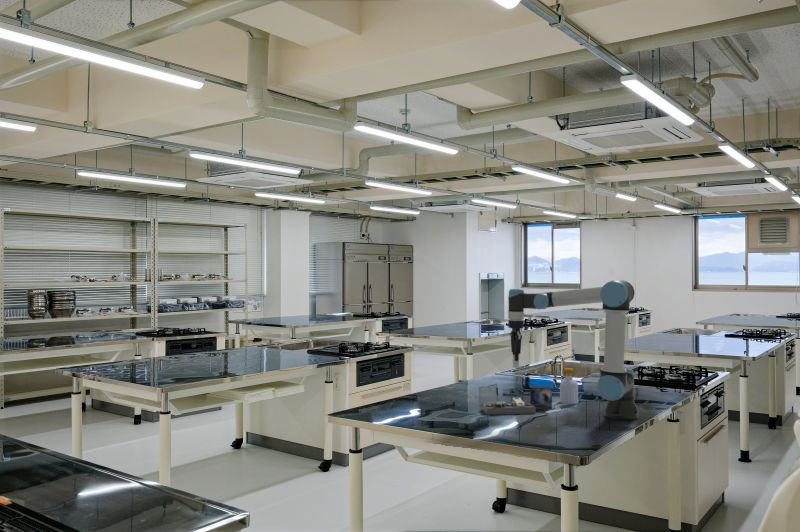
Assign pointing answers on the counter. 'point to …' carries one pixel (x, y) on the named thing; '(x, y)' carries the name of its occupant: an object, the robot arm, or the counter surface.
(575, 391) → the soap bottle
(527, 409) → the power strip
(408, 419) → the counter surface
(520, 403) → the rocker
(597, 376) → the aluminum foil
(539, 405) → the small box
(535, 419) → the counter surface
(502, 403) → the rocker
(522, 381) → the counter surface
